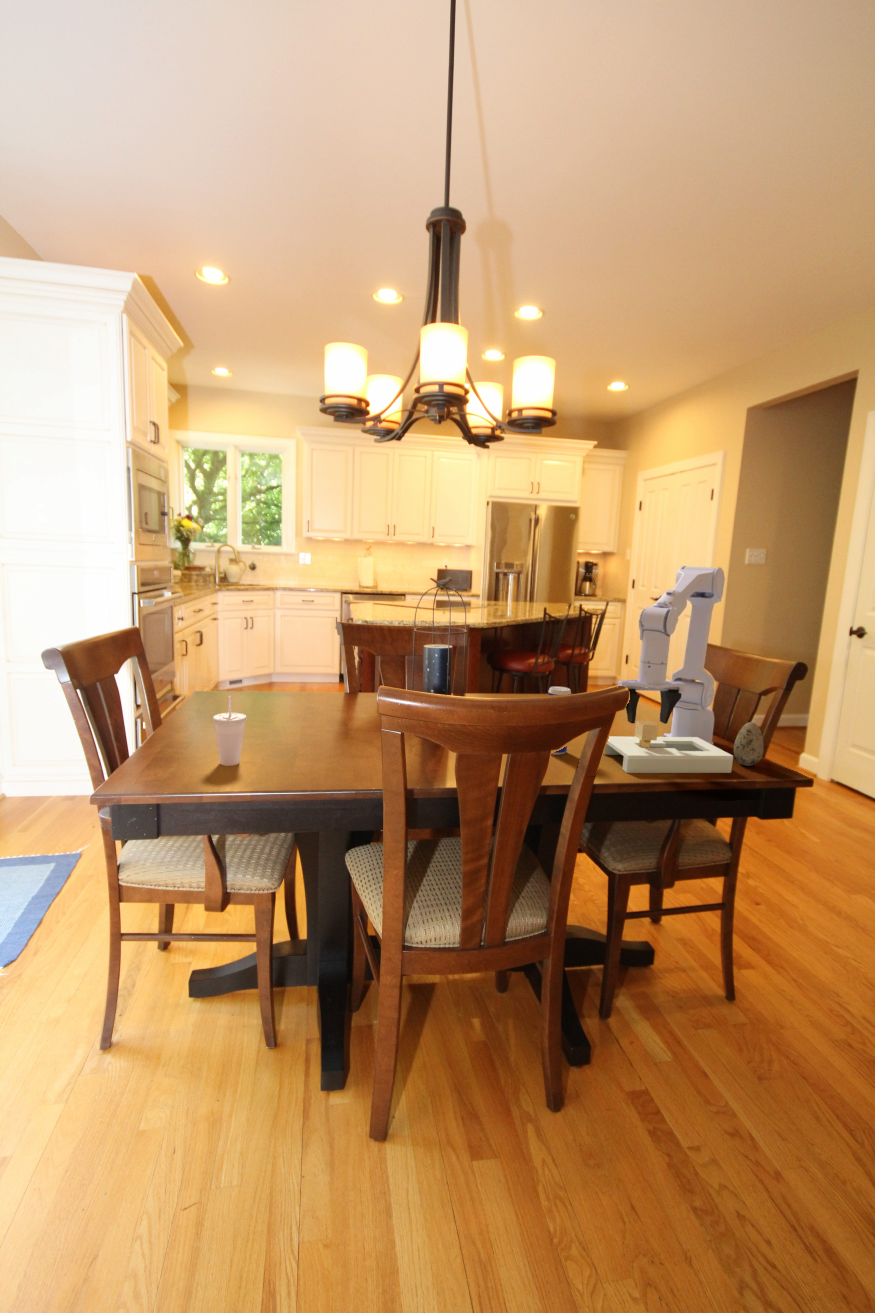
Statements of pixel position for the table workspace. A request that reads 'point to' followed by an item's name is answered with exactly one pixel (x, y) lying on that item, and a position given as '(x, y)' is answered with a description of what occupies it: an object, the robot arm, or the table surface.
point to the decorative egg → (749, 745)
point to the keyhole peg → (646, 732)
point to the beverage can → (559, 691)
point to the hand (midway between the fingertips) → (647, 722)
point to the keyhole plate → (670, 755)
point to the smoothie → (229, 736)
